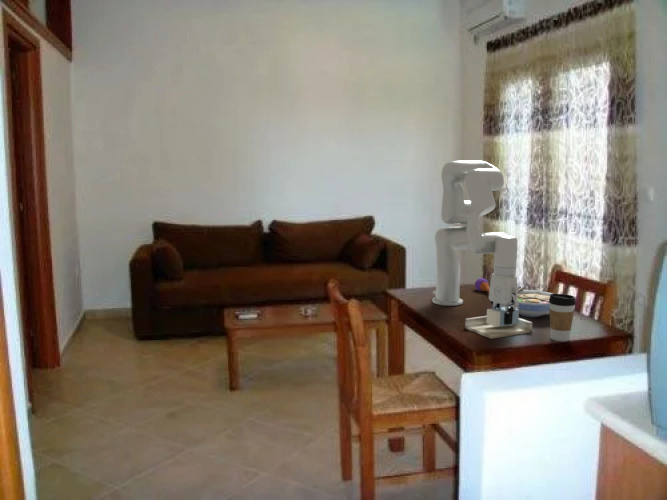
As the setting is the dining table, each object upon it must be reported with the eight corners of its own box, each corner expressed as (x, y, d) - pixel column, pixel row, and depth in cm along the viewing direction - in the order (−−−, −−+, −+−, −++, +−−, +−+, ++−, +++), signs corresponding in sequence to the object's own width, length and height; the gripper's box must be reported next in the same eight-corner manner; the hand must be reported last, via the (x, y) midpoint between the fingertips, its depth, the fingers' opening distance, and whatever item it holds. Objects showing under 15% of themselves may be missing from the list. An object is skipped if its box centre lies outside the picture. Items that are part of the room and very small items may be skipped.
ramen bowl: (553, 327, 223) (554, 304, 221) (490, 318, 235) (491, 296, 233) (568, 312, 243) (569, 291, 242) (510, 304, 256) (511, 285, 254)
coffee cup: (542, 335, 212) (544, 292, 210) (566, 334, 213) (569, 292, 211) (553, 342, 204) (555, 298, 202) (578, 342, 205) (580, 297, 202)
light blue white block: (508, 319, 223) (509, 306, 222) (518, 323, 218) (519, 309, 218) (486, 323, 219) (487, 309, 218) (495, 326, 214) (496, 312, 213)
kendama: (489, 290, 263) (472, 277, 282) (491, 304, 265) (473, 290, 284) (502, 288, 264) (484, 275, 283) (504, 301, 265) (486, 287, 285)
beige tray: (464, 328, 221) (465, 318, 220) (504, 322, 229) (505, 313, 228) (490, 338, 209) (491, 328, 208) (531, 332, 216) (532, 322, 216)
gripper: (480, 267, 222) (478, 317, 224) (513, 276, 206) (510, 329, 209) (497, 266, 225) (494, 315, 228) (530, 274, 210) (527, 326, 212)
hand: (502, 321), depth 218 cm, fingers closed on light blue white block, 5 cm apart
